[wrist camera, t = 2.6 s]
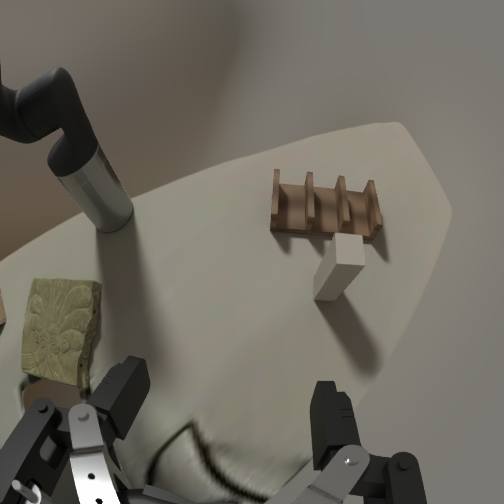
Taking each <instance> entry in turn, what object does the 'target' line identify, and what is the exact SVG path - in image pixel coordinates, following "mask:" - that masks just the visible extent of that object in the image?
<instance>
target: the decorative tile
mask: <svg viewBox="0 0 504 504" xmlns="http://www.w3.org/2000/svg"><path fill="white" fill-rule="evenodd" d="M100 294H101V284H100V283H98V282H96V281H92V280H70V279H59V278H57V279H46V278H42V279H37V278H34V279H33V281H32V285H31V289H30V294H29V298H28V303H27V307H26V313H25V321H24V329H23V335H22V351H21V368H22V372H24V373H27V374H30V375H33V376H36V377H40V378H43V379H47V380H51V381H55V382H59V383H63V384H67V385H72V386H76V387H82V388H88V386H89V373H88V361H89V355H90V353H91V343H92V340H93V338H94V337H95V335H96V325H97V319H98V307H99V297H100Z"/></svg>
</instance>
